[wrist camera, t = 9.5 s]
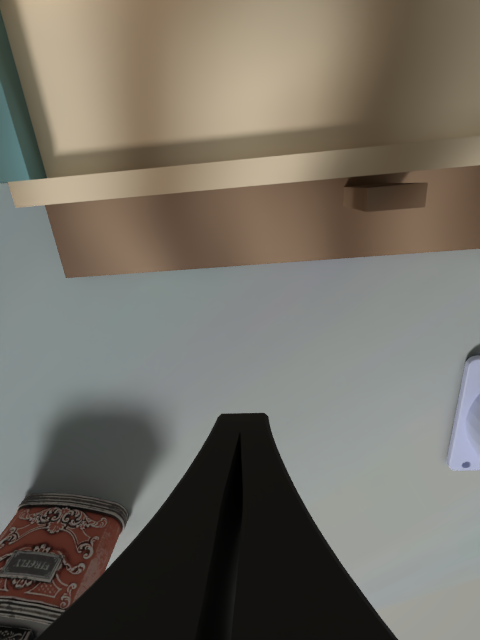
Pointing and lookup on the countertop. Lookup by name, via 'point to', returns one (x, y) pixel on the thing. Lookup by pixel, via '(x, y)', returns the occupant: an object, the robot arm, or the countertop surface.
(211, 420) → the countertop surface
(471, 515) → the countertop surface
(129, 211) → the stand
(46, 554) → the red tin
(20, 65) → the beam
